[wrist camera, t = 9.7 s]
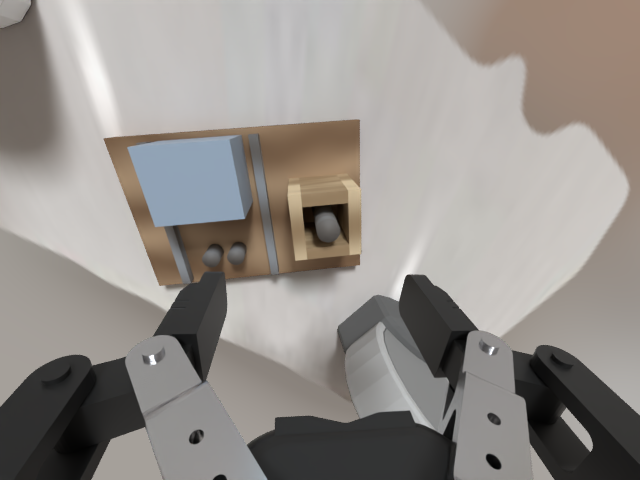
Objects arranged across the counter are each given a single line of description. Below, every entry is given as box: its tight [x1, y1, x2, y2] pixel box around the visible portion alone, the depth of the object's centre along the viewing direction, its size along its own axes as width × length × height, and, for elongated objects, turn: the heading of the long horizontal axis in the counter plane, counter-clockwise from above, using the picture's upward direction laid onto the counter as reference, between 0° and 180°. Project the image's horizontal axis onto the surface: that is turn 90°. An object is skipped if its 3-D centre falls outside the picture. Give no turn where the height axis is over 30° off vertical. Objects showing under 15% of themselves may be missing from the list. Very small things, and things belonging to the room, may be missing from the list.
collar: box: [288, 174, 361, 261], centre depth 24 cm, size 6×6×6 cm
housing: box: [127, 135, 253, 227], centre depth 22 cm, size 6×7×5 cm
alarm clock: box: [337, 295, 449, 431], centre depth 29 cm, size 16×10×18 cm, turn 46°
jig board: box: [104, 120, 360, 286], centre depth 24 cm, size 15×22×8 cm
